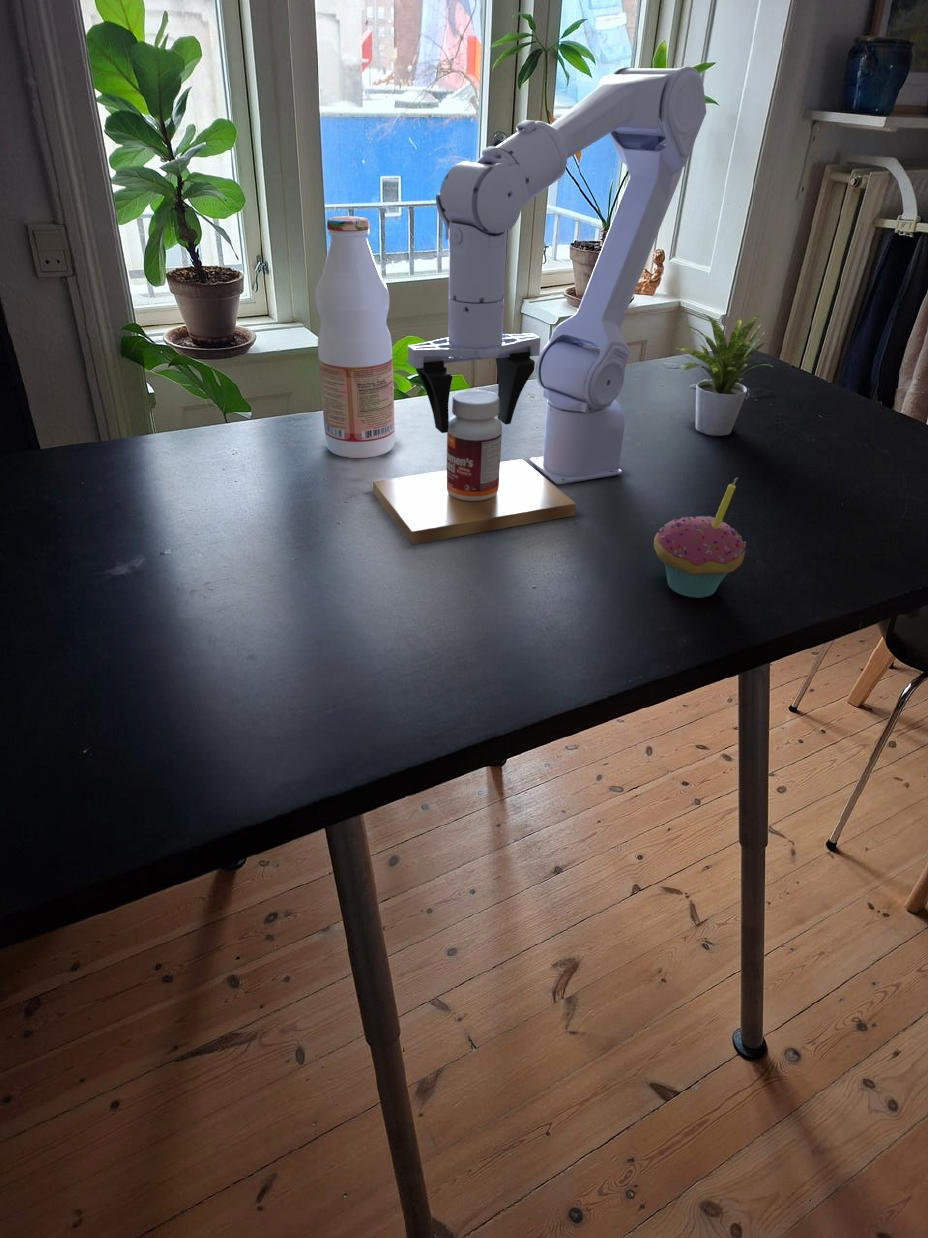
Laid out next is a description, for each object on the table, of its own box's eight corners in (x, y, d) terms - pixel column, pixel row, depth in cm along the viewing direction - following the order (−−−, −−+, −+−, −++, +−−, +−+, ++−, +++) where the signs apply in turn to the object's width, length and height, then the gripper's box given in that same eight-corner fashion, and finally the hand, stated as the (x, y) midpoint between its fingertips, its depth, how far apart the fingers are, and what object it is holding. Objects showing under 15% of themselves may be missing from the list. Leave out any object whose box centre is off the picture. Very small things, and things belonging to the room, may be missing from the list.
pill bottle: (435, 492, 94) (435, 396, 87) (469, 476, 98) (471, 384, 91) (476, 508, 90) (479, 409, 84) (509, 491, 94) (514, 396, 88)
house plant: (687, 403, 127) (706, 294, 118) (775, 422, 120) (802, 308, 111) (649, 428, 117) (666, 311, 108) (741, 451, 110) (768, 328, 101)
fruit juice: (316, 456, 106) (295, 221, 91) (338, 431, 114) (322, 211, 98) (385, 462, 105) (375, 225, 89) (402, 437, 112) (397, 214, 97)
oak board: (521, 470, 104) (522, 458, 103) (575, 515, 93) (576, 503, 92) (372, 493, 97) (372, 481, 96) (412, 545, 86) (411, 531, 85)
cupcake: (737, 573, 82) (764, 463, 76) (732, 616, 76) (760, 500, 69) (653, 559, 85) (671, 451, 78) (641, 599, 78) (660, 484, 71)
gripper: (423, 311, 77) (425, 446, 84) (557, 300, 82) (547, 429, 89) (399, 295, 82) (403, 424, 90) (526, 286, 87) (519, 409, 95)
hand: (473, 425), depth 90 cm, fingers open, 7 cm apart
